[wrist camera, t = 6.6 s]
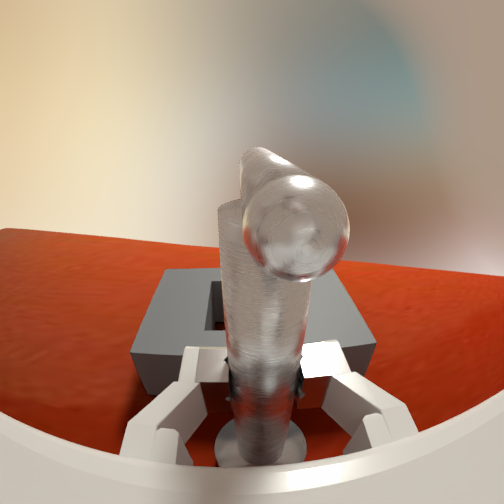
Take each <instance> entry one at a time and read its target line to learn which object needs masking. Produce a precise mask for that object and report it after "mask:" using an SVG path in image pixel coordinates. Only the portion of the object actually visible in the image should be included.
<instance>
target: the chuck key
mask: <svg viewBox="0 0 504 504" xmlns="http://www.w3.org/2000/svg"><path fill="white" fill-rule="evenodd" d="M239 167H240V192H241V199H238V200H234V201H230V202H227V203H225V204H223V205H221V206H220V207H219V208H218V229H219V246H220V264H221V280H222V294H223V308H224V320H225V333H226V344H227V355H228V365H229V373H230V386H231V393H232V405H233V414H234V419H232V420H231V421H229V422H228V423H227V424H226V425H225V426H224V427H223V428H222V429H221V430H220V432H219V433H218V436H217V438H216V441H215V455H216V459H217V462H218V465H219V467H258V466H273V465H284V464H293V463H301V462H303V461H304V459H305V456H306V449H307V446H306V440H305V437H304V435H303V433H302V431H301V430H300V429H299V427H298V426H297V425H296V424H295V423H293V422H292V421H291V420H290V418H291V413H292V408H293V403H294V397H295V392H296V387H297V381H298V375H299V369H300V363H301V357H302V351H303V345H304V338H305V331H306V324H307V317H308V309H309V301H310V293H311V284H312V280H314V279H317V278H319V277H321V276H323V275H325V274H326V273H327V272H329V271H330V270H331V269H332V268H333V267H334V266H335V265H336V264H337V263H338V262H339V260H340V259H341V257H342V256H343V254H344V251H345V249H346V247H347V244H348V239H349V233H350V232H349V231H350V225H349V219H348V214H347V211H346V208H345V206H344V203H343V202H342V200H341V199H340V198H339V196H338V195H337V194H336V192H335V191H334V190H333V189H332V188H331V187H329V186H328V185H327V184H325V183H324V182H322V181H321V180H319V179H318V178H316V177H314V176H313V175H311V174H309V173H308V172H306V171H304V170H303V169H301V168H299V167H297V166H296V165H294V164H292V163H290V162H289V161H287V160H285V159H283V158H282V157H280V156H278V155H276V154H274V153H273V152H271V151H269V150H267V149H264V148H261V147H256V148H252V149H250V150H248V151H246V152H245V153H244V154H243V156H242V158H241V160H240V166H239Z"/></svg>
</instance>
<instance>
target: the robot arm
mask: <svg viewBox="0 0 504 504" xmlns="http://www.w3.org/2000/svg"><path fill="white" fill-rule="evenodd" d="M295 398H296V403H297V408H298V409H308V408H317V407H322V409H323V410H324V411H325V412H326V413H327V414H328V415H329V416H330V417H331V418H332V419H333V420H334V421H335V422H336V423H337V424H338V425H340V426H341V427H342V428H343V429H344V430H345V431H346V432H347V433H348V434H349V435H350V436H351V437H352V438H351V440H350V441H349V443H348V444H347V446H346V447H345V449H344V450H343V454H344V455H341V456H337V457H332V458H326V459H321V460H315V461H308V462H301V463H293V464H284V465H273V466H258V467H203V466H193V461H192V459H191V457H190V455H189V453H188V451H187V449H186V447H185V445H184V444H185V443H186V442H187V441H188V439H189V438H190V437H191V436H192V434H193V433H194V432H195V431H196V429H197V428H198V427H199V425H200V424H201V423H202V422H203V420H204V419H205V418H206V416H207V414H227V413H232V393H231V386H230V373H229V365H228V355H227V347H192V346H186V347H185V349H184V353H183V358H182V363H181V368H180V373H179V379H178V382H173V383H172V384H170V385H169V386H168V387H167V388H166V389H165V390H164V391H163V392H162V393H161V394H159V395H158V396H157V397H156V398H155V399H154V400H153V401H152V402H150V403H149V404H148V405H147V406H146V407H145V408H144V409H143V410H141V411H140V412H139V413H138V414H137V415H136V416H134V417H133V418H132V419H131V420H130V421H129V422H128V424H127V427H126V431H125V435H124V439H123V443H122V447H121V451H120V455H116V454H111V453H107V452H103V451H99V450H96V449H92V448H88V447H85V446H82V445H78V444H75V443H72V442H69V441H66V440H63V439H61V438H58V437H55V436H52V435H50V434H47V433H45V432H42V431H40V430H37V429H35V428H33V427H30V426H28V425H26V424H24V423H22V422H20V421H17V420H15V419H13V418H11V417H9V416H7V415H5V414H4V413H2V412H0V504H504V390H502V391H500V392H499V393H497V394H496V395H494V396H492V397H491V398H489V399H487V400H486V401H484V402H482V403H480V404H479V405H477V406H475V407H473V408H471V409H469V410H467V411H466V412H464V413H462V414H460V415H458V416H456V417H454V418H451V419H449V420H447V421H445V422H443V423H441V424H438V425H436V426H434V427H431V428H429V429H426V430H424V431H421V432H418V430H417V428H416V425H415V423H414V421H413V419H412V417H411V415H410V413H409V411H408V409H407V407H406V405H405V404H404V403H403V402H401V401H400V400H398V399H396V398H395V397H393V396H392V395H390V394H389V393H387V392H386V391H384V390H382V389H381V388H379V387H378V386H376V385H375V384H373V383H372V382H370V381H369V380H367V379H366V378H364V377H363V376H361V375H360V374H358V373H357V372H351V370H350V368H349V365H348V363H347V360H346V358H345V356H344V353H343V351H342V349H341V347H340V344H339V342H338V341H337V340H328V341H320V342H310V343H304V345H303V351H302V357H301V363H300V369H299V375H298V381H297V387H296V392H295Z"/></svg>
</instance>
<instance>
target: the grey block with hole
mask: <svg viewBox="0 0 504 504" xmlns="http://www.w3.org/2000/svg"><path fill="white" fill-rule="evenodd" d="M215 322H225V320H224V308H223V294H222V280H221V268H202V269H166V270H165V272H164V274H163V276H162V278H161V281H160V283H159V285H158V287H157V289H156V292H155V294H154V296H153V298H152V300H151V303H150V305H149V307H148V310H147V312H146V314H145V317H144V319H143V321H142V324H141V326H140V328H139V331H138V333H137V336H136V338H135V341H134V343H133V346H132V348H131V351H130V354H131V357H132V359H133V362H134V364H135V367H136V369H137V371H138V374H139V376H140V378H141V381H142V383H143V385H144V388H145V390H146V392H147V394H150V395H159V394H161V393H162V392H163V391H164V390H165V389H166V388H167V387H168V386H169V385H170V384H172V383H173V382H178V379H179V373H180V368H181V363H182V358H183V353H184V349H185V347H186V346H192V347H227V344H226V333H225V330H222V331H215ZM328 340H337V341H338V342H339V344H340V347H341V349H342V351H343V353H344V356H345V358H346V360H347V363H348V365H349V368H350V370H351V372H357V373H358V374H360V375H361V376H363V377H364V375H365V373H366V370H367V368H368V365H369V362H370V360H371V357H372V355H373V352H374V349H375V346H376V343H377V342H376V340H375V338H374V337H373V335H372V333H371V331H370V330H369V328H368V326H367V324H366V323H365V321H364V319H363V318H362V316H361V314H360V313H359V311H358V309H357V308H356V306H355V304H354V303H353V301H352V299H351V298H350V296H349V294H348V293H347V291H346V289H345V288H344V286H343V285H342V283H341V281H340V280H339V278H338V277H337V275H336V273H335V272H334V270H333V269H331V270H330V271H329V272H327V273H326V274H325V275H323V276H321V277H319V278H317V279H314V280H312V284H311V293H310V301H309V309H308V317H307V324H306V331H305V338H304V343H310V342H320V341H328Z"/></svg>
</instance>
